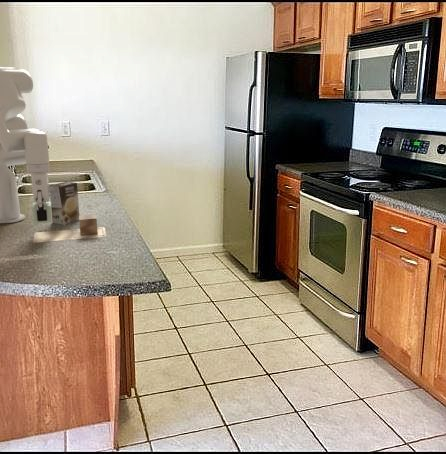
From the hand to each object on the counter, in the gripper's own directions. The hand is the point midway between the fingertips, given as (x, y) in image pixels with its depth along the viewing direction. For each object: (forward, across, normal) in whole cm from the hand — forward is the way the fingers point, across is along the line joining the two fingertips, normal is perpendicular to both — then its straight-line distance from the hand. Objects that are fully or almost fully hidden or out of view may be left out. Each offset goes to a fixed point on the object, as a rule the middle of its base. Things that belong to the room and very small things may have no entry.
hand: (42, 217), depth 177 cm
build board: (+8, -1, -9) cm, 12 cm away
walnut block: (+7, -1, -15) cm, 17 cm away
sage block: (+1, 0, 0) cm, 1 cm away
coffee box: (+9, +20, -7) cm, 23 cm away
